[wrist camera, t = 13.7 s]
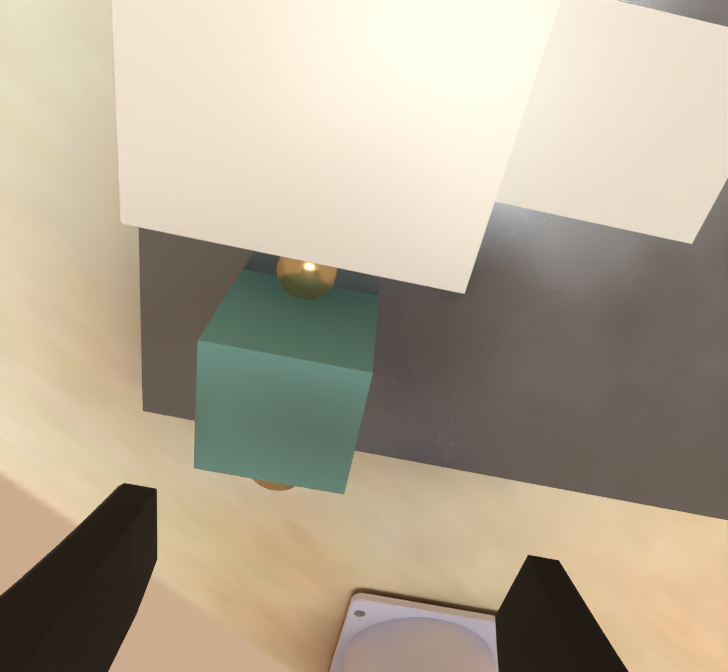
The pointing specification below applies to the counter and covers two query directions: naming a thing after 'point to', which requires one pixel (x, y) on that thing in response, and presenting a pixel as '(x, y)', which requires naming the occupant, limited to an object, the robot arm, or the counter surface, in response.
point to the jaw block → (284, 383)
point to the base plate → (511, 349)
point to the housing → (413, 124)
